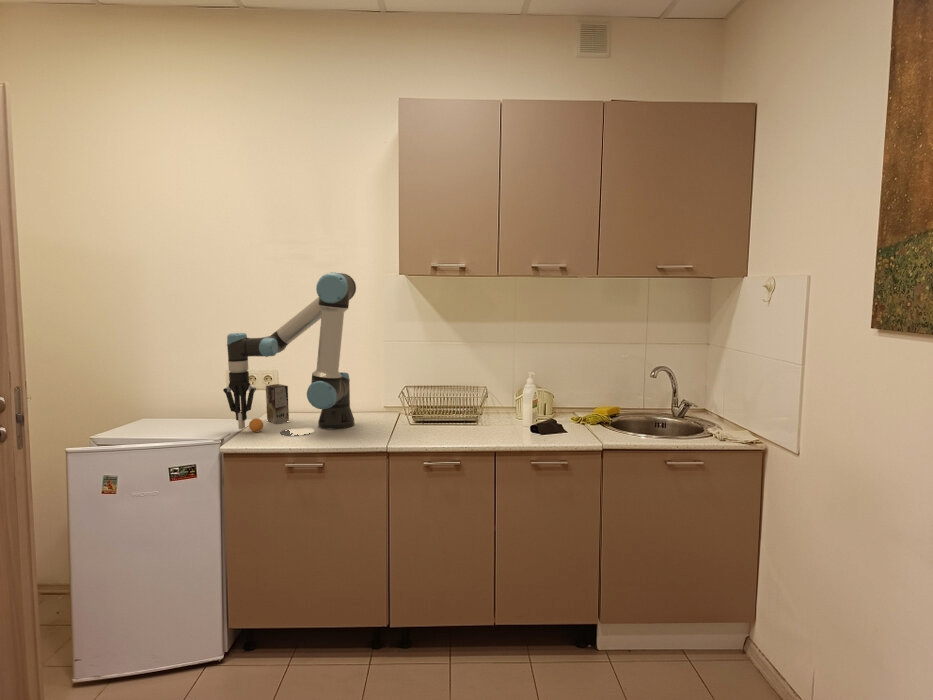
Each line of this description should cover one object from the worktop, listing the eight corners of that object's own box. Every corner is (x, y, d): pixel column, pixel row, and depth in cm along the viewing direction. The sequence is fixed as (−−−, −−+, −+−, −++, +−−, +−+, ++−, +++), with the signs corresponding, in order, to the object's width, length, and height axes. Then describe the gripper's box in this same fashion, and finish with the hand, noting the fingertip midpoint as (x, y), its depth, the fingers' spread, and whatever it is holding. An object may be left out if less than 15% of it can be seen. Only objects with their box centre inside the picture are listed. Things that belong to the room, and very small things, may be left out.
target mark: (319, 428, 245) (319, 427, 245) (309, 436, 231) (309, 435, 231) (286, 427, 245) (286, 427, 245) (274, 436, 231) (274, 435, 231)
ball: (265, 430, 241) (265, 417, 241) (260, 433, 236) (259, 420, 235) (252, 430, 242) (252, 417, 241) (247, 433, 236) (246, 420, 236)
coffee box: (289, 422, 256) (288, 385, 255) (275, 424, 252) (274, 387, 250) (280, 418, 263) (278, 383, 261) (266, 421, 259) (265, 385, 257)
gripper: (258, 369, 240) (261, 425, 242) (227, 370, 240) (230, 426, 243) (250, 372, 232) (253, 430, 235) (218, 372, 233) (222, 430, 235)
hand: (241, 428), depth 239 cm, fingers closed
